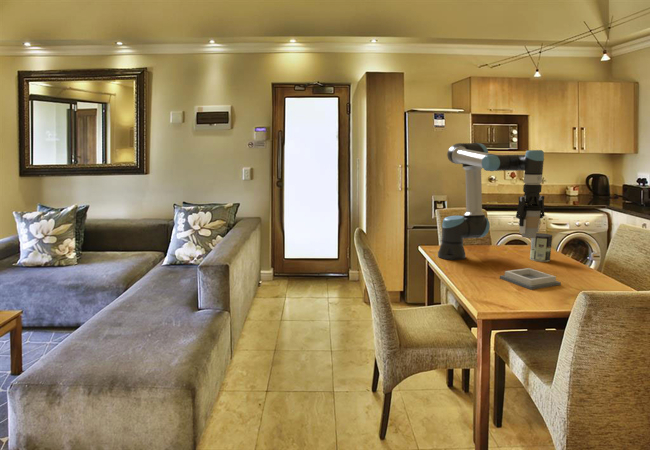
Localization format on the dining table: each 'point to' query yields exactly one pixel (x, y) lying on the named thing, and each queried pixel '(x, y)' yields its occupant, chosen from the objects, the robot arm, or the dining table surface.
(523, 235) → the coffee cup
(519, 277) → the cup dock
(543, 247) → the coffee can
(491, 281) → the dining table surface
